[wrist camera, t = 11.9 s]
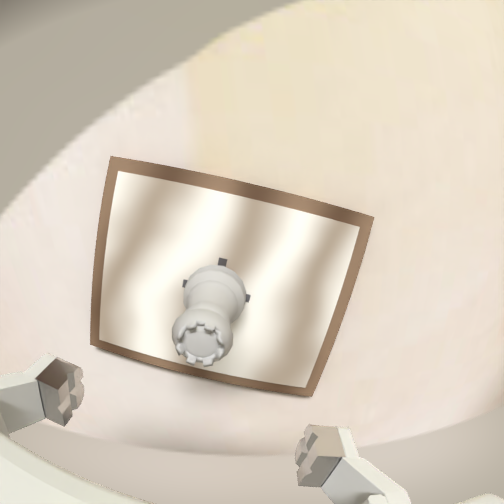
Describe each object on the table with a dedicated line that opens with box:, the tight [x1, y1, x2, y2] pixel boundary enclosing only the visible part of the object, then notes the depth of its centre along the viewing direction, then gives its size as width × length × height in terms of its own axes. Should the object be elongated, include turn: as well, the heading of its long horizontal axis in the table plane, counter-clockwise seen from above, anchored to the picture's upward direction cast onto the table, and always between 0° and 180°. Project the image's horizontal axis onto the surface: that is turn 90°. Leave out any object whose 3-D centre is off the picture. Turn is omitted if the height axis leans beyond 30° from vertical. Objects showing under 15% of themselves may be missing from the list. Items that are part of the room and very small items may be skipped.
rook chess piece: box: [172, 265, 246, 367], centre depth 19 cm, size 4×4×8 cm
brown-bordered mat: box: [90, 156, 374, 396], centre depth 23 cm, size 20×16×1 cm
